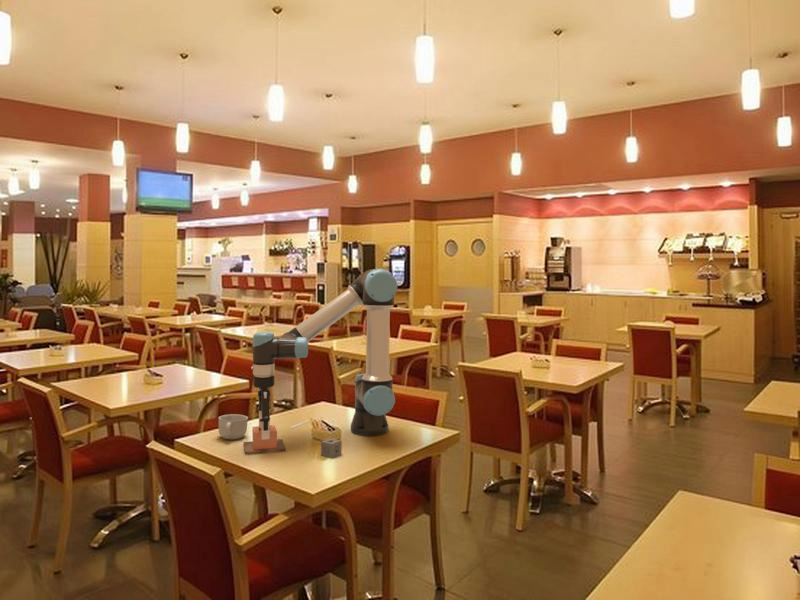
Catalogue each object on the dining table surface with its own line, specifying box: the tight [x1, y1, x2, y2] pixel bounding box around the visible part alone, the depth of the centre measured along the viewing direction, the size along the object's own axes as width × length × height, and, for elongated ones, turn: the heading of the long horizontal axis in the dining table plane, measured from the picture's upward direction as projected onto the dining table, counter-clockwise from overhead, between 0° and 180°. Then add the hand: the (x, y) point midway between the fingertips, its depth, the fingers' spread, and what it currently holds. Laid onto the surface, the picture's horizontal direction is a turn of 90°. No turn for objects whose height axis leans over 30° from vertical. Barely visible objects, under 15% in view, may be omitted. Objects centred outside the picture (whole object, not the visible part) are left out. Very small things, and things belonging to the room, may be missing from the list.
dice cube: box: [320, 437, 342, 459], centre depth 203 cm, size 5×5×5 cm
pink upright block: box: [251, 424, 278, 449], centre depth 210 cm, size 8×8×6 cm
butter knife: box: [289, 419, 310, 429], centre depth 249 cm, size 1×27×3 cm
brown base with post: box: [243, 438, 287, 456], centre depth 210 cm, size 14×12×10 cm
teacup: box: [218, 413, 249, 441], centre depth 221 cm, size 14×11×8 cm
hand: (264, 433), depth 210 cm, fingers open, 13 cm apart
